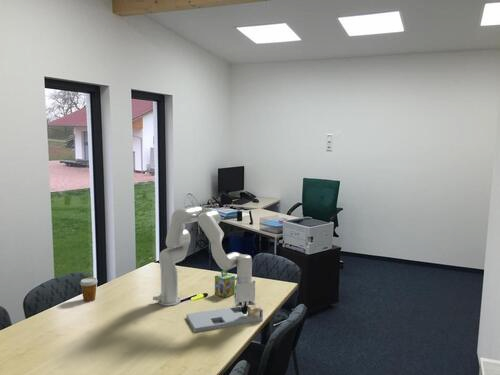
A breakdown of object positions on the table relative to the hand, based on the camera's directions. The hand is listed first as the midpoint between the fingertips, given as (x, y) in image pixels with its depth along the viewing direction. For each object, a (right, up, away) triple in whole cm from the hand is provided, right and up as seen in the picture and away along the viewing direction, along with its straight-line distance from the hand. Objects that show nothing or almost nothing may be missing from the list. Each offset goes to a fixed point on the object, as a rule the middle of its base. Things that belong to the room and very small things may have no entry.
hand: (244, 313), depth 207 cm
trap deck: (-10, -4, +1) cm, 11 cm away
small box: (+2, -1, +28) cm, 28 cm away
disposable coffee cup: (-91, -1, +26) cm, 95 cm away
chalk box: (-12, 0, +37) cm, 39 cm away
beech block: (+5, -2, +1) cm, 5 cm away
